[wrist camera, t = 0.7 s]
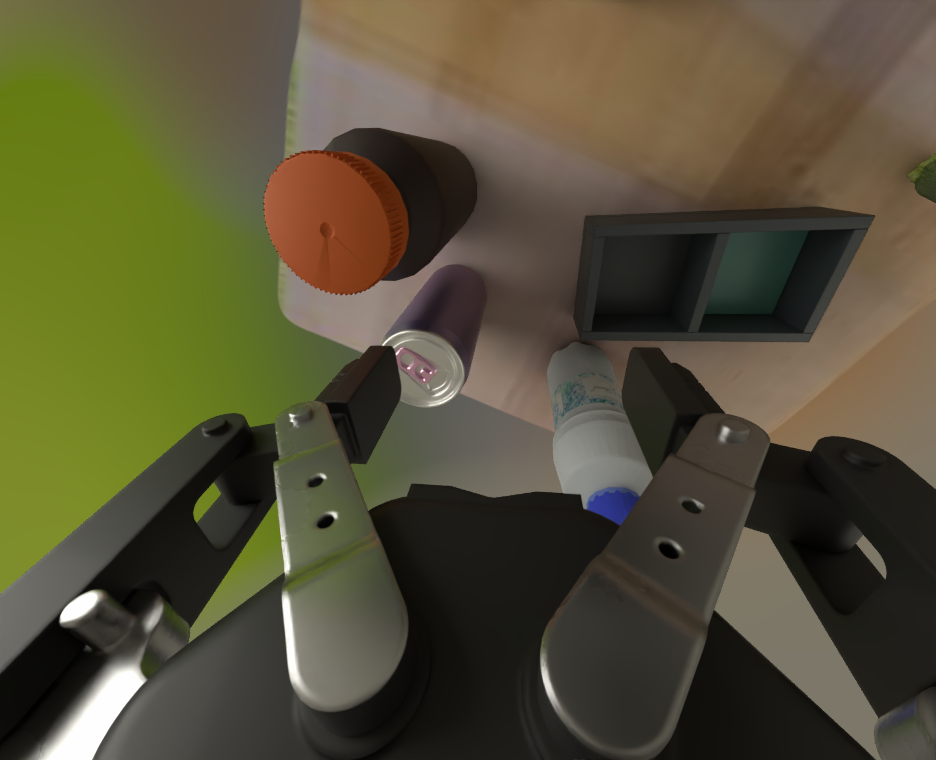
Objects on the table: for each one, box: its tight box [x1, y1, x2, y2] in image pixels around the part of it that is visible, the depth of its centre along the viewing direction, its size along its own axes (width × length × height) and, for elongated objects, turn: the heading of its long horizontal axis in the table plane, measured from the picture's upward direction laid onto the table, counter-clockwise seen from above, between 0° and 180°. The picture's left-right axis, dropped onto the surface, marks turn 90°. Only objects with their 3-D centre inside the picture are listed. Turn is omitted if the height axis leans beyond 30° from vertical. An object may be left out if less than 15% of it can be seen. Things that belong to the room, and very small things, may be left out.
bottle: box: [547, 342, 653, 526], centre depth 28 cm, size 7×7×20 cm
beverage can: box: [381, 265, 487, 408], centre depth 28 cm, size 6×6×15 cm
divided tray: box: [573, 207, 875, 342], centre depth 28 cm, size 9×17×5 cm, turn 93°
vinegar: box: [263, 128, 477, 295], centre depth 21 cm, size 7×7×20 cm
